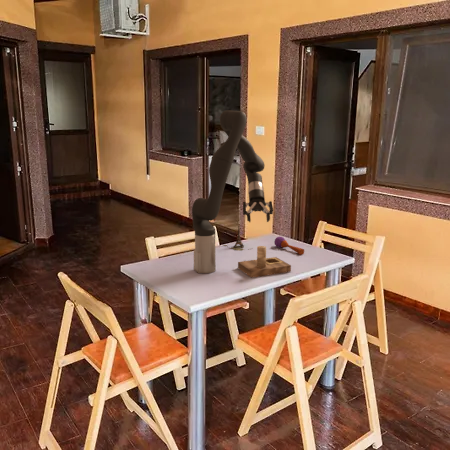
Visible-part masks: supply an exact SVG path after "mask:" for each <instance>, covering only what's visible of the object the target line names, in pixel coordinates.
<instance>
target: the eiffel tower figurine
mask: <svg viewBox="0 0 450 450" xmlns="http://www.w3.org/2000/svg"><path fill="white" fill-rule="evenodd" d="M237 226H238V227H237V228H238V229H237V238H236V241H235V245H233V247H231V248H230V249H231V250H234V251H241V252H242V251H245V249H244V247H245V245H244V244H243V242H242V240H241V235H240V225H237ZM222 246H223V247H225V246H227V247H228V245H226V244H224V245H222ZM252 249H253V247H252V248H251V250H252ZM247 250H250V248H248V249H247Z"/></svg>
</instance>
